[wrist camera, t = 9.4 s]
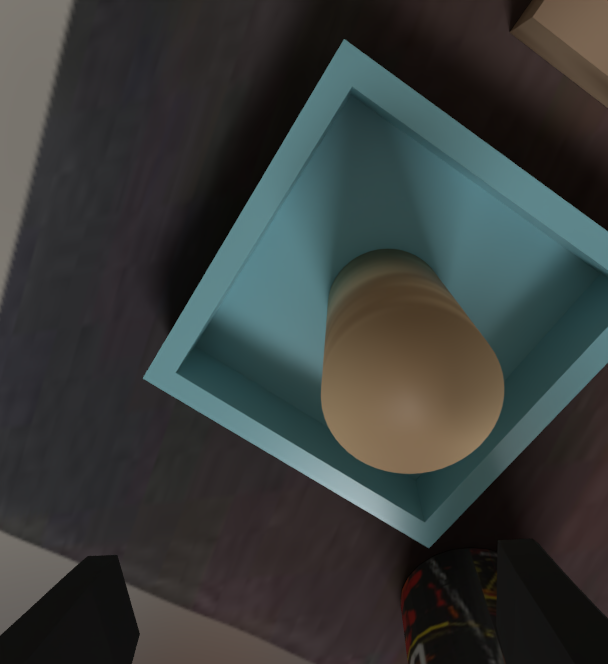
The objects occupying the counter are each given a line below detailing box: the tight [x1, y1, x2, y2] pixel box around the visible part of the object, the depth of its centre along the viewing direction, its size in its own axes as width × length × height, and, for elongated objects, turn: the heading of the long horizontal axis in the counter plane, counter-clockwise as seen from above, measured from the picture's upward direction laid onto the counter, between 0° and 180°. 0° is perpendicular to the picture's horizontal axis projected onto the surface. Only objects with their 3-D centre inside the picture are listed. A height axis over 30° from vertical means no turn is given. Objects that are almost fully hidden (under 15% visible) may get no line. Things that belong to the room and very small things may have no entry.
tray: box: [143, 39, 608, 548], centre depth 17 cm, size 12×12×3 cm
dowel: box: [321, 249, 504, 474], centre depth 15 cm, size 4×4×7 cm
